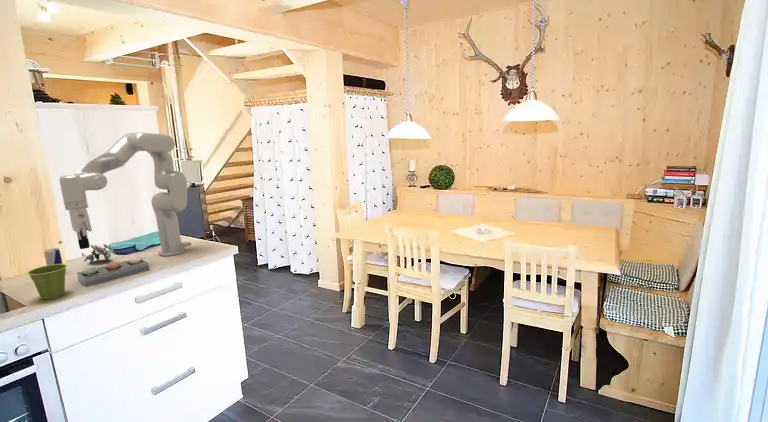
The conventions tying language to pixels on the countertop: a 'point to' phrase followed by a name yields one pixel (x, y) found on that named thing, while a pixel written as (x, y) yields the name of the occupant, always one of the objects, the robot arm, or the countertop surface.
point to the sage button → (89, 271)
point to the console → (112, 273)
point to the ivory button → (134, 260)
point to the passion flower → (98, 253)
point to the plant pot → (49, 280)
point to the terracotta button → (113, 265)
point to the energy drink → (53, 256)
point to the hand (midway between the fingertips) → (84, 248)
